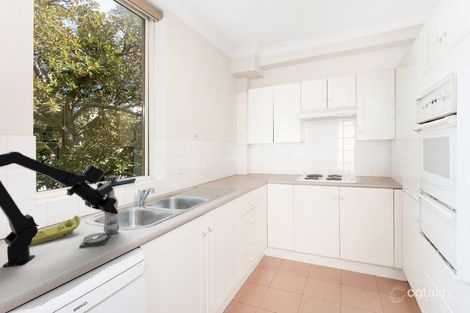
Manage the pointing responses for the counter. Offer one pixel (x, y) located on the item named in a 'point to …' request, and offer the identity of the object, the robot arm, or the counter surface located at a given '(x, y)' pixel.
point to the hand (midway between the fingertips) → (113, 212)
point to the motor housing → (95, 240)
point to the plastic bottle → (111, 217)
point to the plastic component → (56, 231)
